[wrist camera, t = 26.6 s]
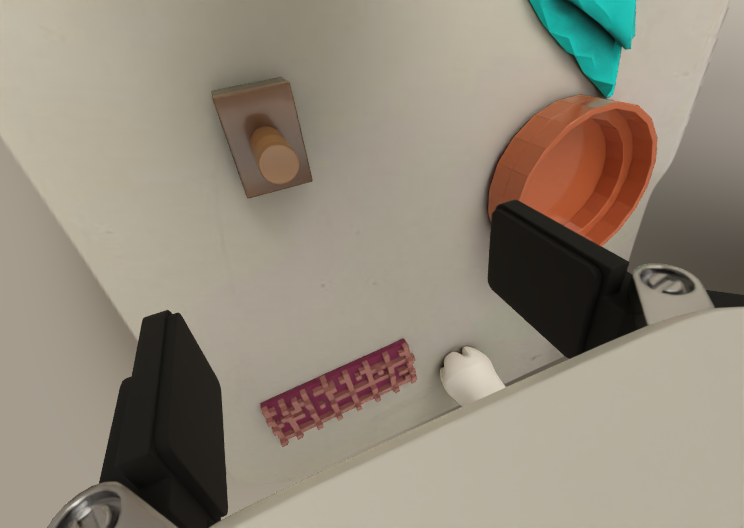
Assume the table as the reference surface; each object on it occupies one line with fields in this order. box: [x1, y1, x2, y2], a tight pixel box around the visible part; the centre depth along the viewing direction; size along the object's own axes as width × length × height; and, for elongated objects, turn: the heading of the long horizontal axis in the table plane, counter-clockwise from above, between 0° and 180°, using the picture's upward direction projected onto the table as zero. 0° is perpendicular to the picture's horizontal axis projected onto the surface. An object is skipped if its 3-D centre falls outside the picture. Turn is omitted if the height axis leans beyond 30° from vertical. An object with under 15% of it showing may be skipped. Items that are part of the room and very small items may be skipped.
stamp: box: [212, 77, 312, 198], centre depth 26 cm, size 7×5×8 cm
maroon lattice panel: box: [261, 339, 417, 447], centre depth 46 cm, size 7×19×2 cm, turn 102°
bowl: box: [488, 94, 657, 247], centre depth 40 cm, size 17×17×5 cm
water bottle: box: [440, 347, 506, 407], centre depth 43 cm, size 7×7×25 cm
